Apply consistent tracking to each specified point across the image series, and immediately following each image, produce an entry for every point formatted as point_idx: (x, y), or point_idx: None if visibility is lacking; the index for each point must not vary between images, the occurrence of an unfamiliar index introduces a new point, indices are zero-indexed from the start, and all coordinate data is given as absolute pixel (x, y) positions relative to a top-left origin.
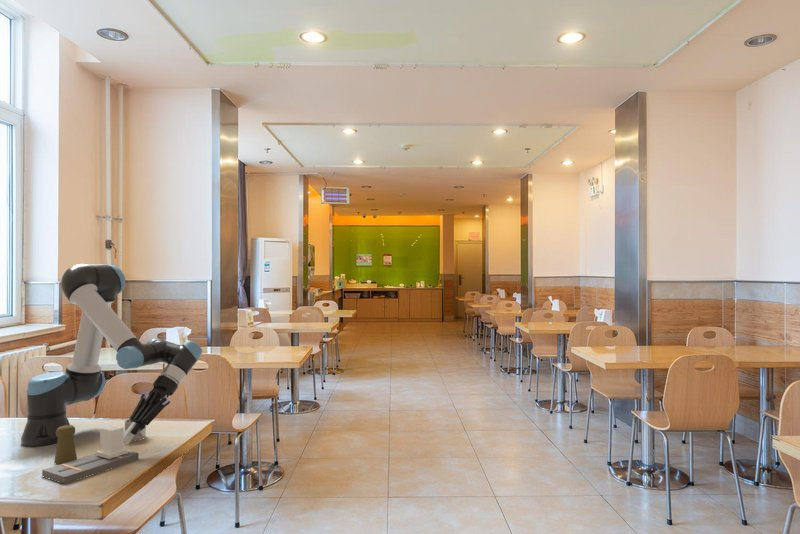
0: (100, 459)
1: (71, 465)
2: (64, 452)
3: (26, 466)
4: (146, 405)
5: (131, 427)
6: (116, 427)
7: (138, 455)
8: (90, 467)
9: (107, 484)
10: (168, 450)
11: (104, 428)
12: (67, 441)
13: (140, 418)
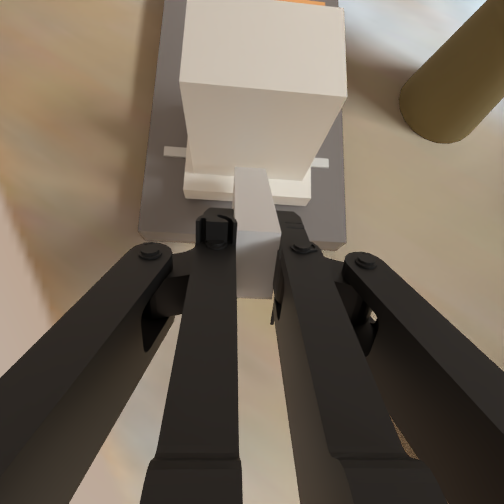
0: None
1: None
2: (437, 51)
3: None
4: (318, 442)
5: (234, 205)
6: (241, 62)
7: (141, 233)
8: (177, 24)
9: (10, 8)
10: (117, 421)
11: (305, 15)
12: (474, 20)
13: (204, 260)
